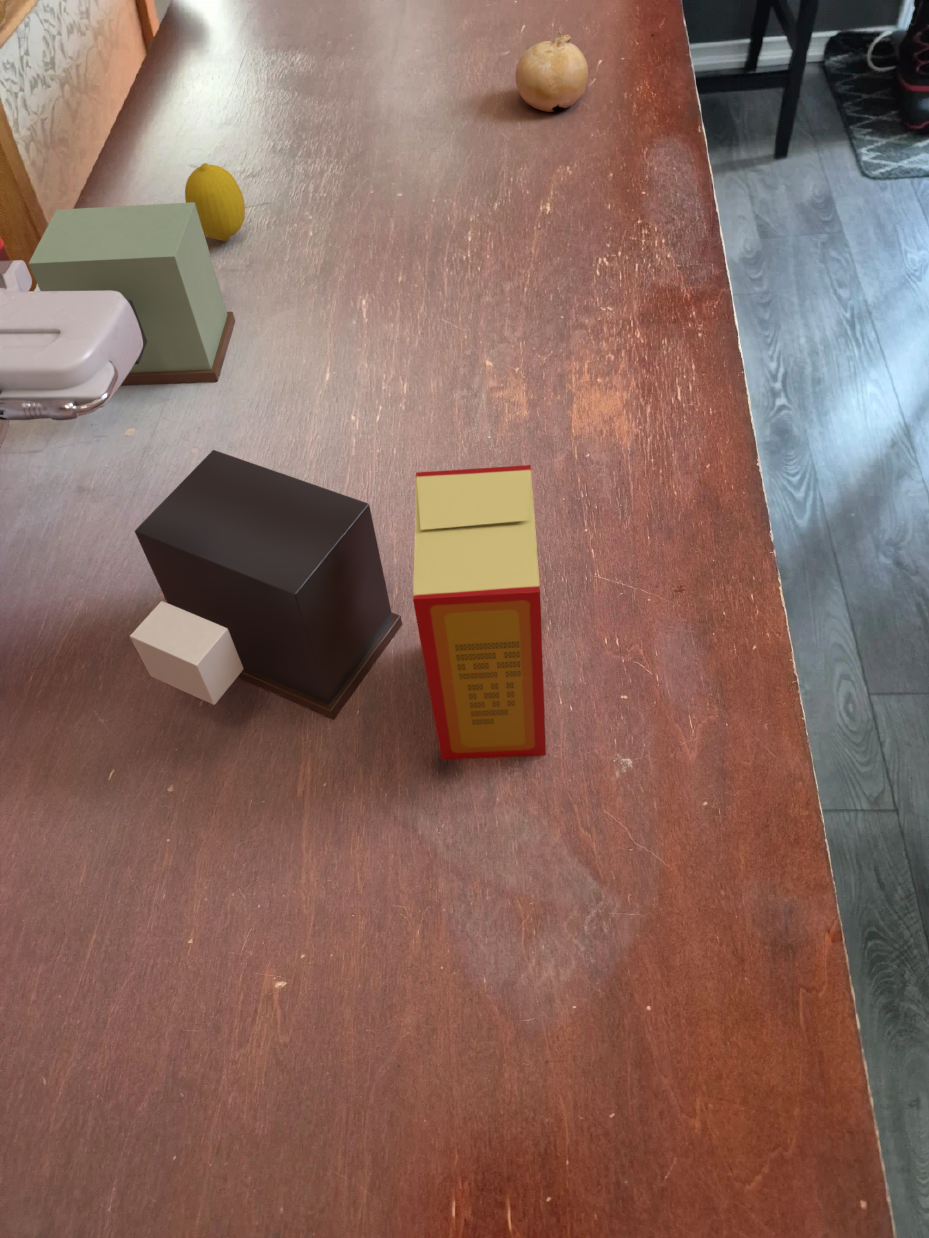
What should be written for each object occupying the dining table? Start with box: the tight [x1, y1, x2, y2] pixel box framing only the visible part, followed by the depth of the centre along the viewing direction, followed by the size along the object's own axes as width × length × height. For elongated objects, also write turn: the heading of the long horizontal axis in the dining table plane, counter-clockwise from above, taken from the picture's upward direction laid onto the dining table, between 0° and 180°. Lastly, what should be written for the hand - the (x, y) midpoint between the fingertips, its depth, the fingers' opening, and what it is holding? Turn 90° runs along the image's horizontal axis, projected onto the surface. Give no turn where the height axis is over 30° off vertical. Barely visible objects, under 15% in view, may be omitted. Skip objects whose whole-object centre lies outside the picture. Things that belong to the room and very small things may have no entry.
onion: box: [515, 27, 589, 113], centre depth 117 cm, size 8×8×7 cm
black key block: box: [134, 449, 403, 720], centre depth 69 cm, size 9×13×12 cm
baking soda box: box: [412, 464, 547, 761], centre depth 64 cm, size 10×6×16 cm
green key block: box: [27, 202, 236, 386], centre depth 92 cm, size 9×13×12 cm
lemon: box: [184, 162, 246, 243], centre depth 104 cm, size 6×6×8 cm
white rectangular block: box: [129, 600, 244, 706], centre depth 64 cm, size 3×5×4 cm, turn 61°
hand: (6, 270), depth 66 cm, fingers closed
